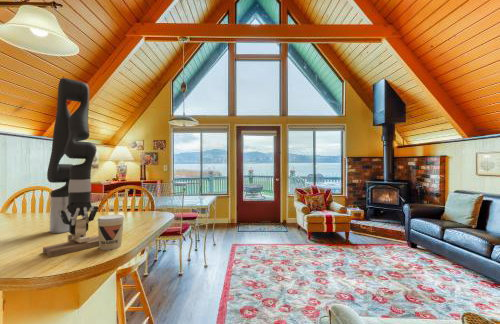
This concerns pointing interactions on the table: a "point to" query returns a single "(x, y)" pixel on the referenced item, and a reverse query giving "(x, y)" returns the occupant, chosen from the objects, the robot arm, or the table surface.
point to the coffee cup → (110, 231)
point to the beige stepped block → (79, 232)
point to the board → (70, 247)
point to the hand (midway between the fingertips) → (78, 232)
